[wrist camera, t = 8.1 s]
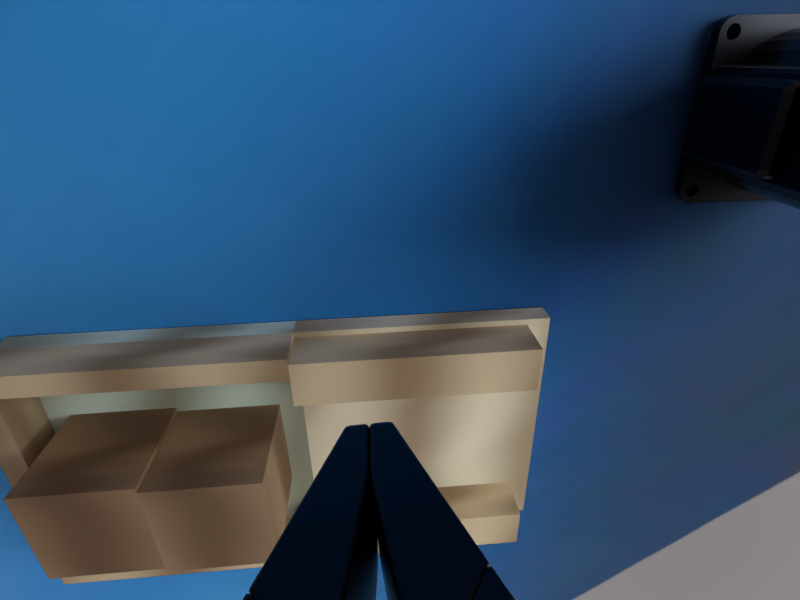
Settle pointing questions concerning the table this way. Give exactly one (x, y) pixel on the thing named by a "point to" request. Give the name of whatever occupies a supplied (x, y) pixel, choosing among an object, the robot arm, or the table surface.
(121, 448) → the brown wooden cube
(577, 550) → the table surface
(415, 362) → the slot board
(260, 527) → the brown cube
